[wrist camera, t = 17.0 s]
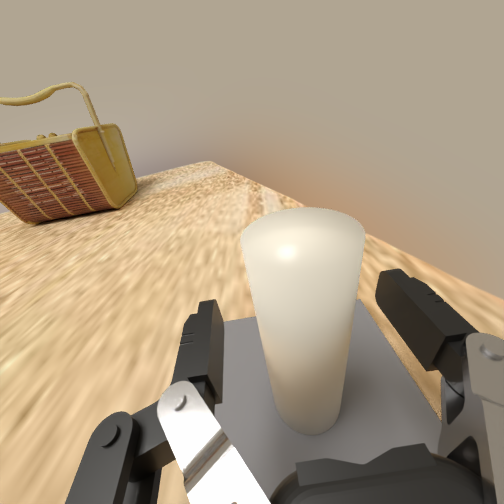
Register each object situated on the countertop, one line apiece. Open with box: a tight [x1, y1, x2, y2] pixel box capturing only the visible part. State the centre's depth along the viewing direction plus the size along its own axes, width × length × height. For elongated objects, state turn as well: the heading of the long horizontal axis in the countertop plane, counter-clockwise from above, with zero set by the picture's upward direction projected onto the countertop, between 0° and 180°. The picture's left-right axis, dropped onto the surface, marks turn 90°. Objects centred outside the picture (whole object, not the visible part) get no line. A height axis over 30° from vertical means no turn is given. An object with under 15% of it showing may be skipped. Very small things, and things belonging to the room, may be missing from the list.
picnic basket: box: [0, 82, 137, 224], centre depth 61 cm, size 29×26×30 cm
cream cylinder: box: [240, 207, 365, 435], centre depth 13 cm, size 5×5×14 cm
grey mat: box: [214, 299, 442, 500], centre depth 17 cm, size 16×16×1 cm
